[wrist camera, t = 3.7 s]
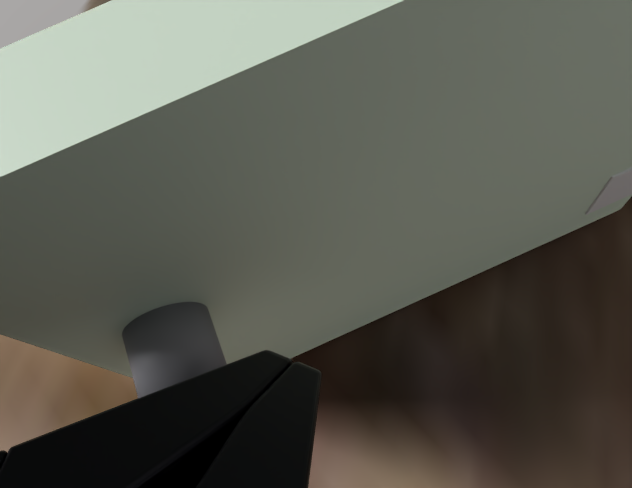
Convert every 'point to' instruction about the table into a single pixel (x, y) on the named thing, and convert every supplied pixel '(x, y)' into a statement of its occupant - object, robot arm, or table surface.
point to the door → (292, 166)
